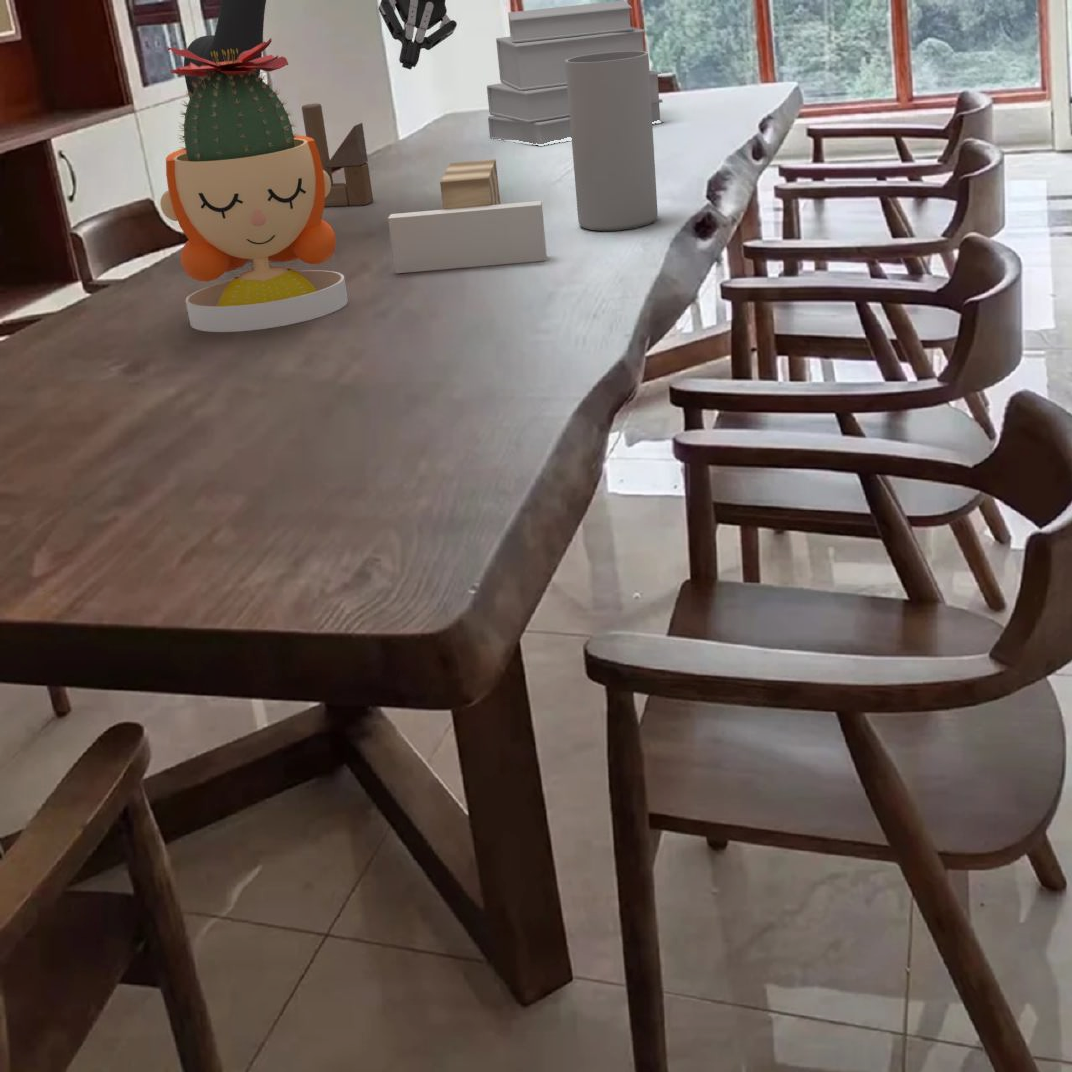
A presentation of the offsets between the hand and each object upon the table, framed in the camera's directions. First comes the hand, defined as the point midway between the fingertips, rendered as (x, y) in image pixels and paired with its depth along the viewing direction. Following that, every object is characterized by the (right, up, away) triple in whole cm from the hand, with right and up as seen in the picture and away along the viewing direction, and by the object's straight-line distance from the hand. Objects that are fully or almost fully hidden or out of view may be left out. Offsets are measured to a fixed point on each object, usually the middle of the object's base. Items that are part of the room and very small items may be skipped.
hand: (407, 66), depth 219 cm
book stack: (+29, +17, +93) cm, 99 cm away
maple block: (+11, -30, -7) cm, 33 cm away
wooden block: (-15, -13, +38) cm, 43 cm away
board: (+11, -34, -15) cm, 39 cm away
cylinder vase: (+33, -25, +1) cm, 41 cm away
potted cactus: (-17, -43, -27) cm, 53 cm away
